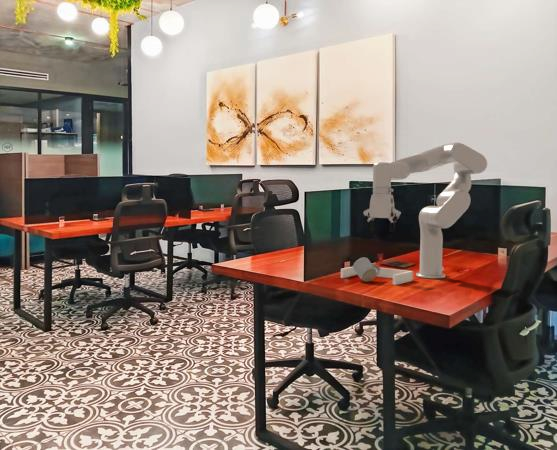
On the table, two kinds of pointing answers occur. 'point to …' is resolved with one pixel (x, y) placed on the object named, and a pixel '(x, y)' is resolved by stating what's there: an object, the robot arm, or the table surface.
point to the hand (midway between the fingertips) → (381, 231)
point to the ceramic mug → (366, 269)
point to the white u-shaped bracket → (384, 274)
